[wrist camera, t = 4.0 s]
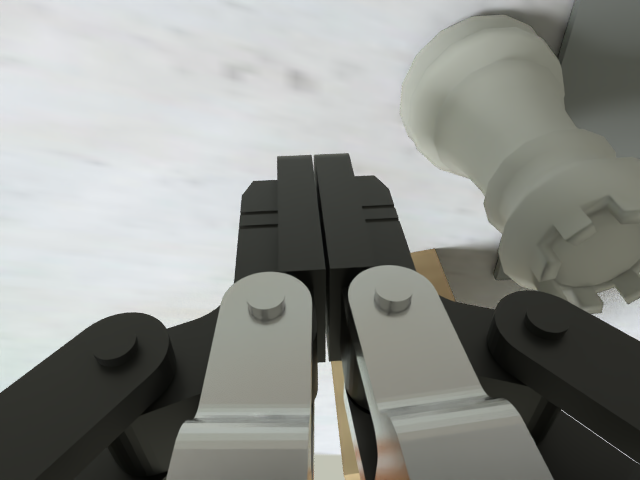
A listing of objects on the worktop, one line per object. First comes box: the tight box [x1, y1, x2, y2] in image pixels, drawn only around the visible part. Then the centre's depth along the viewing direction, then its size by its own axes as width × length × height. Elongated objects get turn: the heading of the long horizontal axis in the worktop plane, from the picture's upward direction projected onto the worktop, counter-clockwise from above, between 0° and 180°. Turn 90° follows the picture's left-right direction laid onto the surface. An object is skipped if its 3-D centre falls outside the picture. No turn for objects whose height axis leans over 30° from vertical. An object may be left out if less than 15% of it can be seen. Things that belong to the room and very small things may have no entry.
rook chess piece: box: [400, 15, 640, 314], centre depth 12 cm, size 4×4×8 cm
